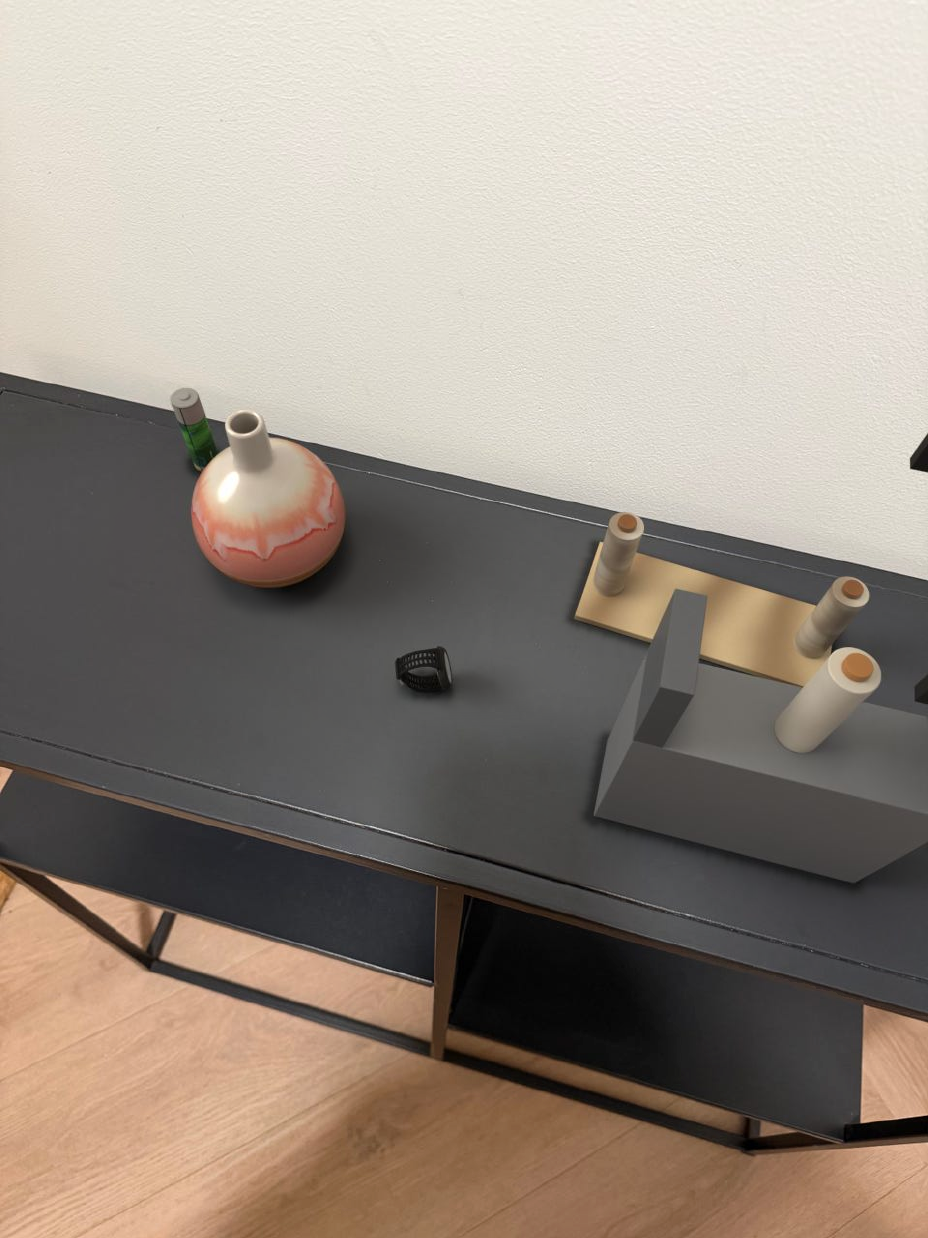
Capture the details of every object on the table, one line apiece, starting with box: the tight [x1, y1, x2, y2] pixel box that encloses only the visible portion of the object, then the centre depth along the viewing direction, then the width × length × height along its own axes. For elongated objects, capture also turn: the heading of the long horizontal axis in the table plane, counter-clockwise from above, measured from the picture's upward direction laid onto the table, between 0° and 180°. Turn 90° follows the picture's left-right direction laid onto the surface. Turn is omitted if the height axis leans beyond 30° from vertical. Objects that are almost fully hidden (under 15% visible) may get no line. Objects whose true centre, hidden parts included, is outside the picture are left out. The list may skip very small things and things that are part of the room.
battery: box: [169, 387, 219, 473], centre depth 83 cm, size 3×3×10 cm
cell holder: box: [573, 511, 870, 688], centre depth 74 cm, size 23×9×10 cm, turn 70°
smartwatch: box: [394, 645, 453, 693], centre depth 72 cm, size 4×5×5 cm
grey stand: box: [593, 589, 928, 884], centre depth 59 cm, size 21×7×24 cm, turn 75°
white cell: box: [775, 646, 882, 753], centre depth 51 cm, size 3×3×10 cm
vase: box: [190, 409, 347, 589], centre depth 74 cm, size 14×14×18 cm
